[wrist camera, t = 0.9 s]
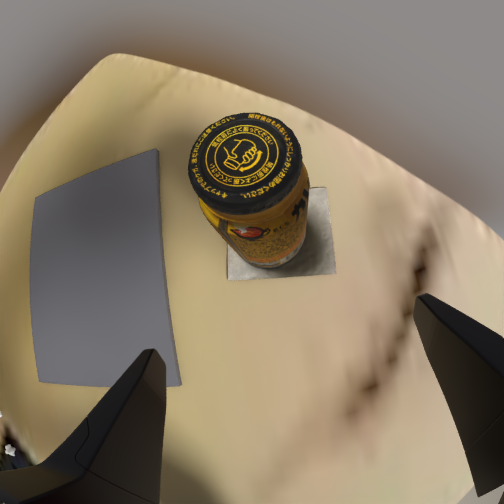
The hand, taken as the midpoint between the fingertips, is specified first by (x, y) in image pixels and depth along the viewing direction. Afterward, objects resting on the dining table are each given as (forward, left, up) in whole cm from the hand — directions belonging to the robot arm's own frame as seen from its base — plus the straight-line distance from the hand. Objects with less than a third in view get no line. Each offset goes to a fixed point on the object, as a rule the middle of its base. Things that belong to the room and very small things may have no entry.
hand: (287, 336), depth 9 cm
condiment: (+7, 0, -14) cm, 15 cm away
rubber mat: (+7, +19, -13) cm, 24 cm away
